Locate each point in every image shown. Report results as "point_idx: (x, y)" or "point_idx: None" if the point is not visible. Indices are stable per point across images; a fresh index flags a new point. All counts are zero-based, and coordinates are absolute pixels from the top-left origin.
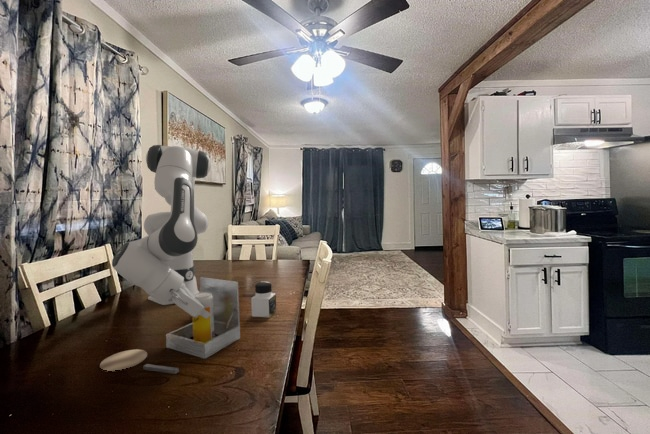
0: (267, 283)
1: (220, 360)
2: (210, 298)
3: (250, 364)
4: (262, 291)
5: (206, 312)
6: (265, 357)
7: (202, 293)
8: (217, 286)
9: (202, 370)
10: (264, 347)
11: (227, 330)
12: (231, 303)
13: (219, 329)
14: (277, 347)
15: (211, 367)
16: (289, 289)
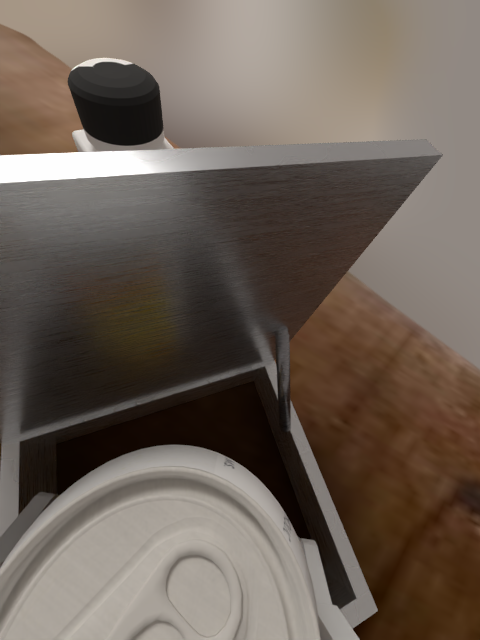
0: (141, 72)
1: (383, 522)
2: (293, 532)
3: (455, 448)
4: (148, 130)
5: (323, 594)
6: (432, 389)
7: (22, 598)
8: (72, 282)
9: (428, 636)
10: (371, 355)
11: (211, 388)
12: (266, 324)
13: (162, 404)
14: (390, 331)
15: (420, 585)
16: (46, 77)
